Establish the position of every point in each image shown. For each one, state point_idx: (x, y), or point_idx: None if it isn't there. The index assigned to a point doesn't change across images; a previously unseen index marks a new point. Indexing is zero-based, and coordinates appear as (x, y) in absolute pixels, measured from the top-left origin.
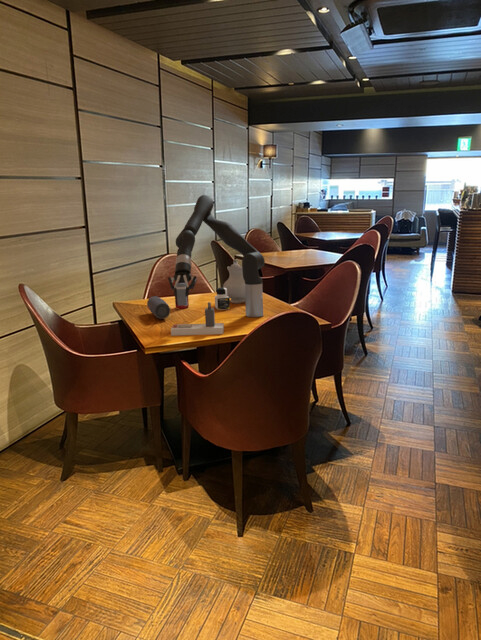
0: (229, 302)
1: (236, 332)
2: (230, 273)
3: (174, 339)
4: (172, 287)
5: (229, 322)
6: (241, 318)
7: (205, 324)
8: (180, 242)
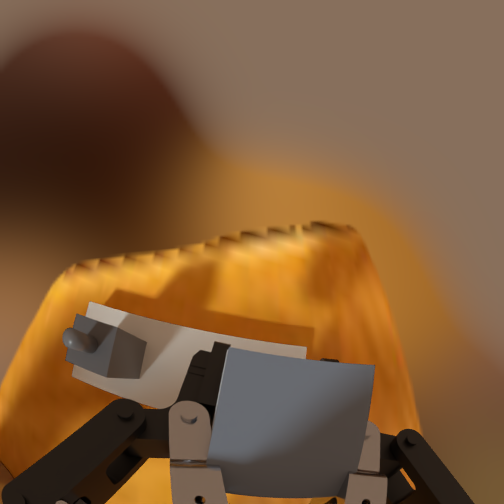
0: None
1: (60, 310)
2: None
3: (284, 291)
4: (392, 438)
5: None
6: None
7: (143, 385)
8: None
